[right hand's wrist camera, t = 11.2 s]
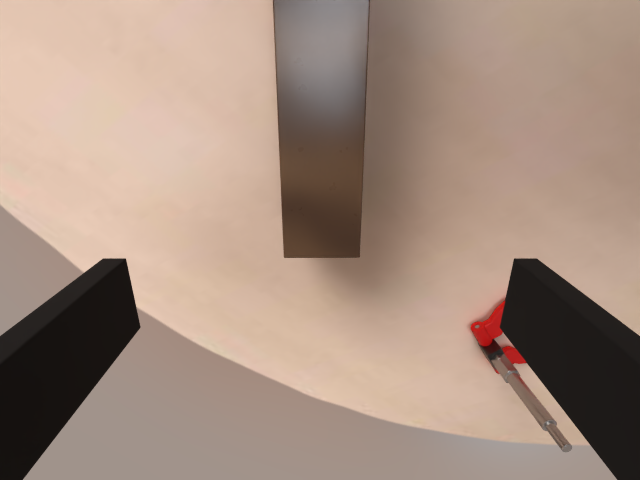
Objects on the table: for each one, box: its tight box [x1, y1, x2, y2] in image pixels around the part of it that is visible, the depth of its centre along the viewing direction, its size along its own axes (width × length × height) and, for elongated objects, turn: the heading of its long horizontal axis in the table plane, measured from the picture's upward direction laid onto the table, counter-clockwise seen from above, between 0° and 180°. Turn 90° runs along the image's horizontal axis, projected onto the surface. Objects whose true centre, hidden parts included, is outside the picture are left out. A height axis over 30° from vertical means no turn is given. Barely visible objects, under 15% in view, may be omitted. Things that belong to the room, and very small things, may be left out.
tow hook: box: [471, 301, 572, 452], centre depth 33 cm, size 8×13×9 cm
